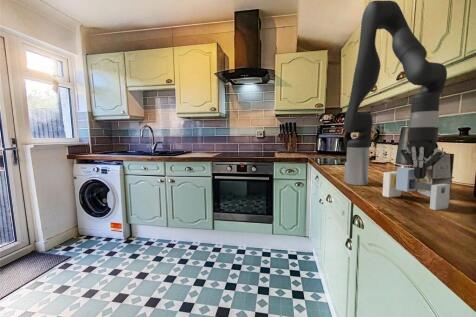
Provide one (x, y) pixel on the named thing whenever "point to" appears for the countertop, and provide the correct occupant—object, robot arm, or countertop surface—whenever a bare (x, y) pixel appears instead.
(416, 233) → the countertop surface
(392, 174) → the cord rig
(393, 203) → the countertop surface
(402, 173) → the notched grey block
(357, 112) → the robot arm
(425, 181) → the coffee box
